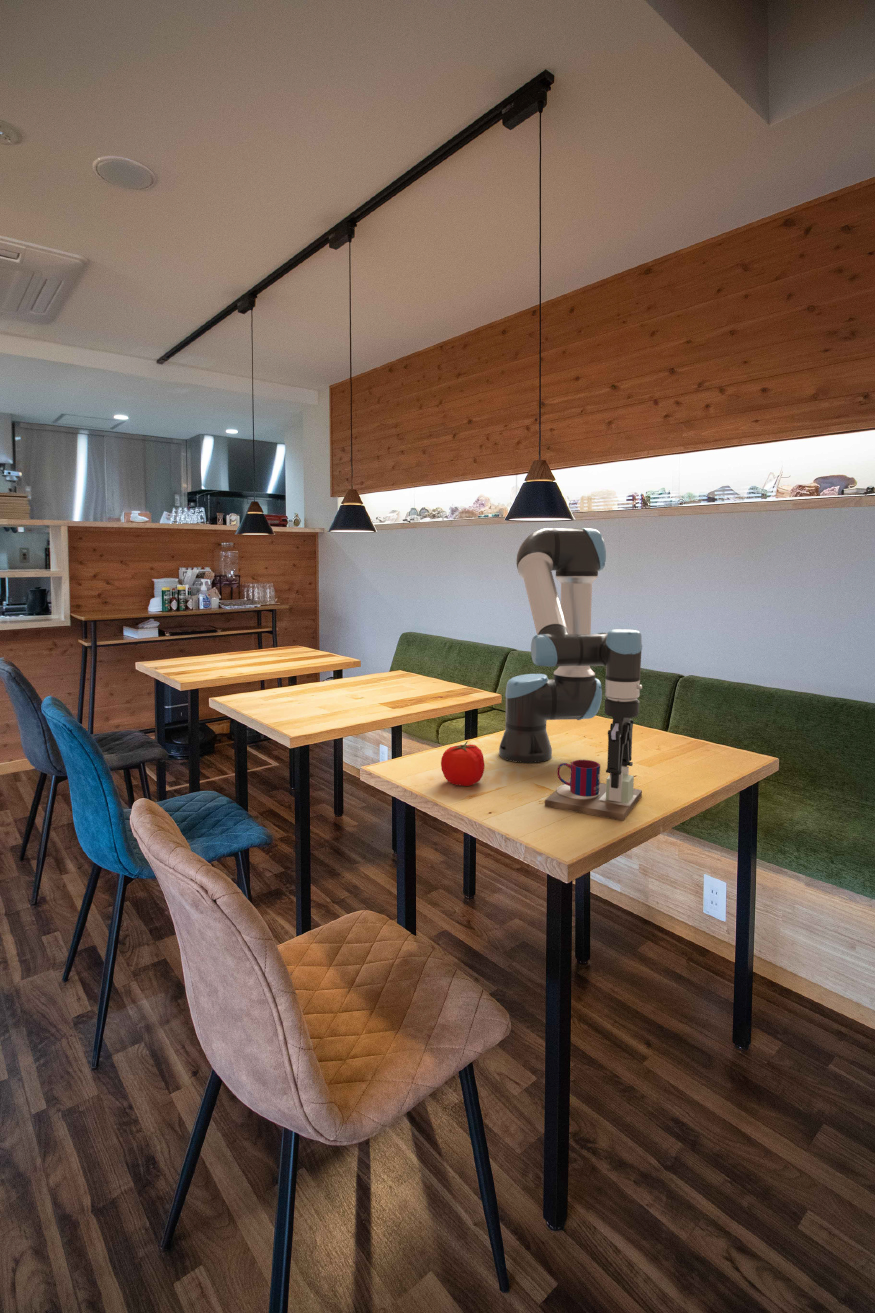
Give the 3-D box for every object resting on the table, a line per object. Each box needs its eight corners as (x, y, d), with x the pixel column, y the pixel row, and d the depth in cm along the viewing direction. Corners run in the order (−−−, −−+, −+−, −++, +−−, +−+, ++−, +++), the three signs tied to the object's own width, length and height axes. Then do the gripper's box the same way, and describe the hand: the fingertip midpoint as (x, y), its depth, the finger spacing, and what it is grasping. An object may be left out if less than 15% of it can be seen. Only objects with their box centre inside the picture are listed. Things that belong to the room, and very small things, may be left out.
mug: (593, 798, 155) (594, 770, 154) (552, 791, 160) (553, 763, 159) (602, 790, 161) (603, 762, 160) (563, 782, 166) (563, 756, 165)
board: (544, 806, 156) (545, 798, 155) (569, 783, 171) (569, 776, 170) (623, 820, 147) (623, 813, 146) (641, 796, 162) (642, 788, 162)
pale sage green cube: (627, 803, 152) (628, 782, 151) (605, 799, 155) (606, 778, 154) (632, 796, 156) (633, 775, 156) (611, 792, 159) (612, 772, 158)
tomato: (477, 774, 178) (478, 736, 177) (489, 790, 166) (490, 750, 165) (436, 776, 177) (436, 738, 175) (445, 793, 164) (445, 752, 163)
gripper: (628, 707, 143) (624, 812, 146) (647, 692, 158) (643, 787, 162) (594, 703, 146) (590, 806, 150) (616, 689, 162) (612, 783, 165)
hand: (618, 796), depth 156 cm, fingers closed on pale sage green cube, 5 cm apart
